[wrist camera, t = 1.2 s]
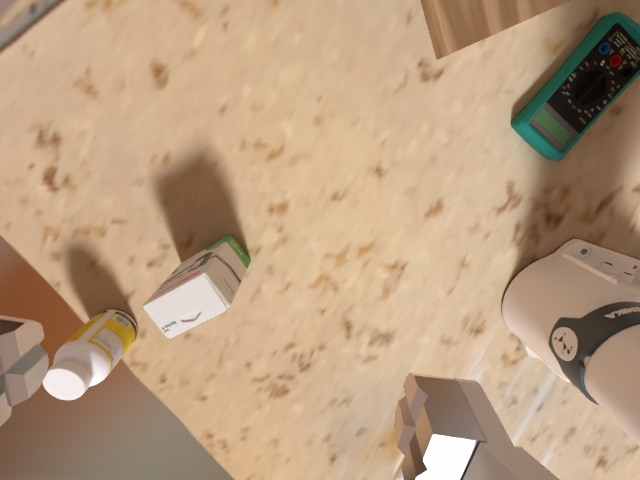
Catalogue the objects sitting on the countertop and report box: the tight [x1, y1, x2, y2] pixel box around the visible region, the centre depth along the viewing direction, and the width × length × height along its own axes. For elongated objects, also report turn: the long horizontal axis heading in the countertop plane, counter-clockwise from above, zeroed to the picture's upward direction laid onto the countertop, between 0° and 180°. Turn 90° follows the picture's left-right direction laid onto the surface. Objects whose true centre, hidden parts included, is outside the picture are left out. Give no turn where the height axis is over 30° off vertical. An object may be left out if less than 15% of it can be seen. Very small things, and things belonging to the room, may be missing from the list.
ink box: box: [142, 235, 250, 338], centre depth 42 cm, size 9×5×12 cm, turn 120°
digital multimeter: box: [511, 12, 640, 161], centre depth 40 cm, size 7×15×3 cm, turn 144°
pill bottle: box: [43, 309, 138, 400], centre depth 45 cm, size 6×6×12 cm
